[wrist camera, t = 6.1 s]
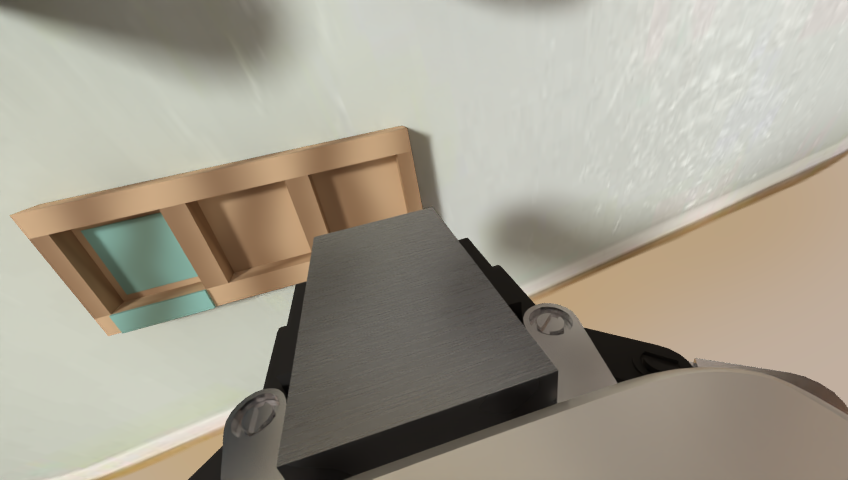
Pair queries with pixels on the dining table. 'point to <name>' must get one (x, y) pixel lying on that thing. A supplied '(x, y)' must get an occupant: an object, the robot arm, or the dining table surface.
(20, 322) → the dining table surface
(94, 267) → the tray
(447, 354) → the block
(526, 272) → the dining table surface
